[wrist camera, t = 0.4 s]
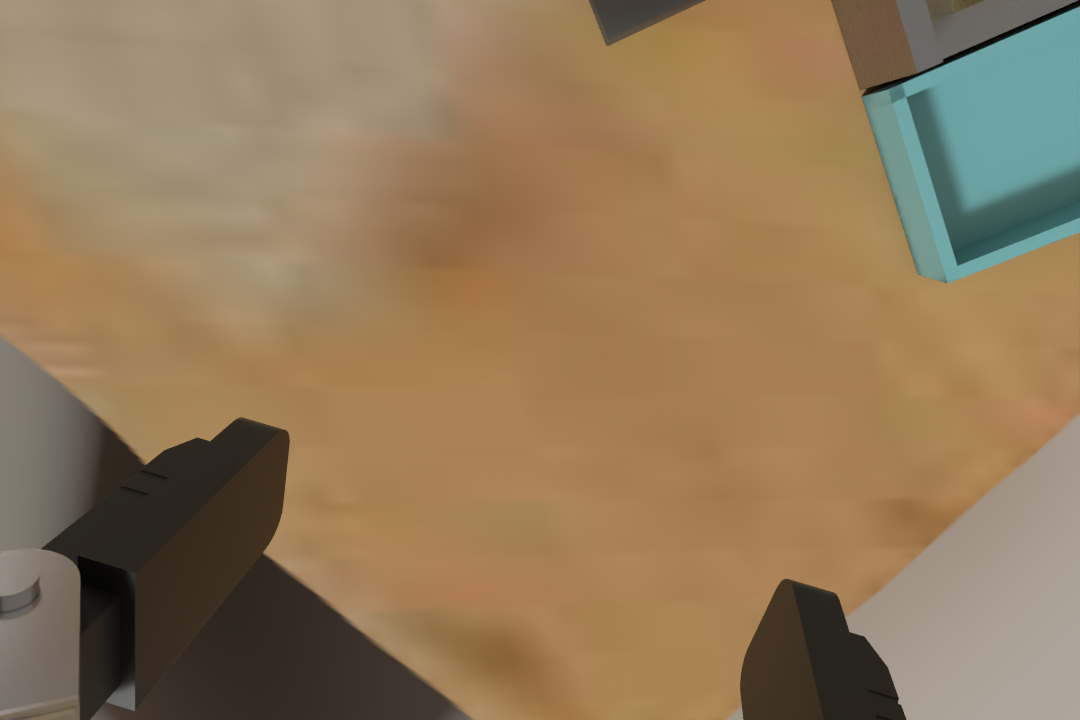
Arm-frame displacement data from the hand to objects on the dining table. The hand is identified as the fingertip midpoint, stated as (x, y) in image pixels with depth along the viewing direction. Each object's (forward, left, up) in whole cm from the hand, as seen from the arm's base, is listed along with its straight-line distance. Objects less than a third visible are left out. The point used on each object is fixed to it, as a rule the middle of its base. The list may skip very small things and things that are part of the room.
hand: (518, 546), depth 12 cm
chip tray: (-10, +21, -26) cm, 35 cm away
